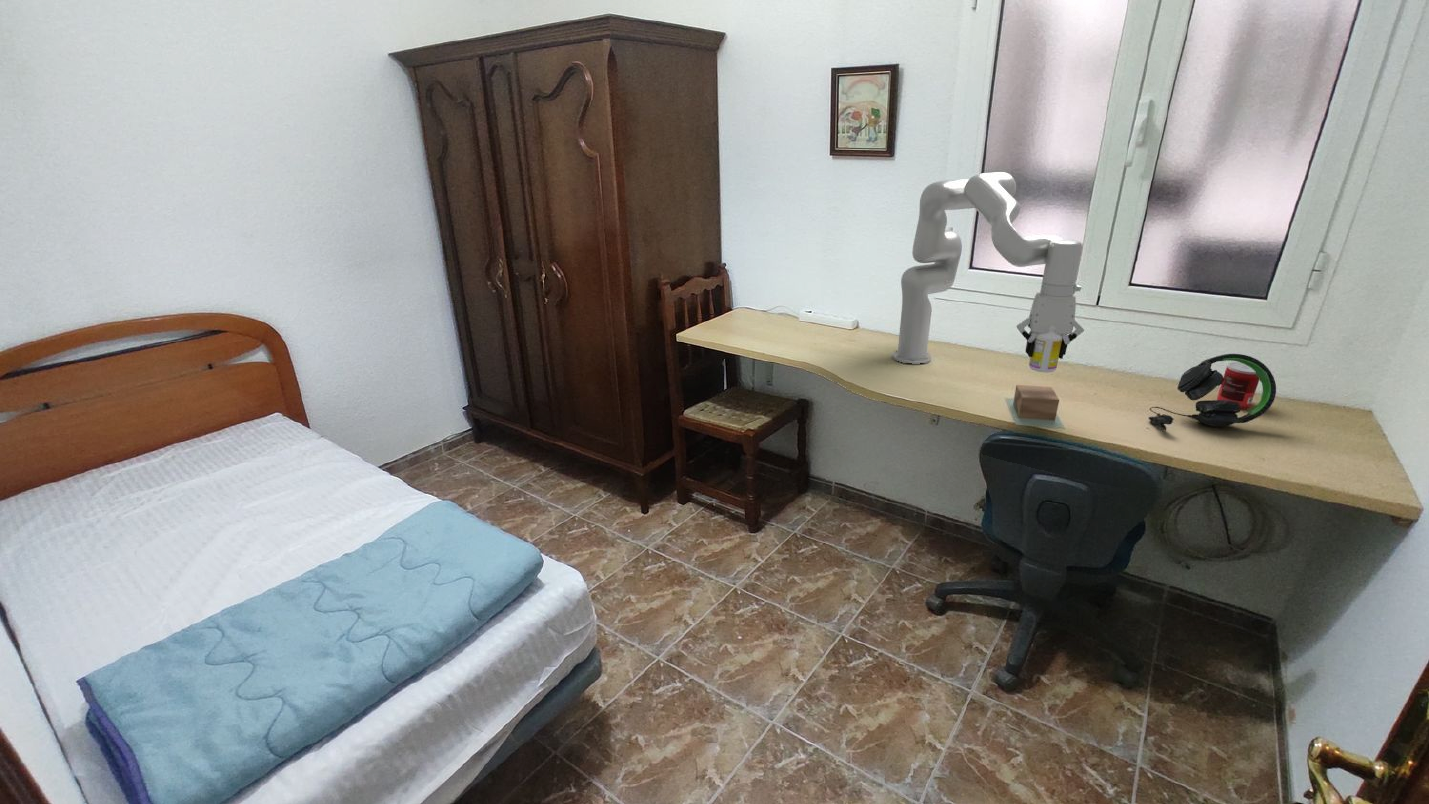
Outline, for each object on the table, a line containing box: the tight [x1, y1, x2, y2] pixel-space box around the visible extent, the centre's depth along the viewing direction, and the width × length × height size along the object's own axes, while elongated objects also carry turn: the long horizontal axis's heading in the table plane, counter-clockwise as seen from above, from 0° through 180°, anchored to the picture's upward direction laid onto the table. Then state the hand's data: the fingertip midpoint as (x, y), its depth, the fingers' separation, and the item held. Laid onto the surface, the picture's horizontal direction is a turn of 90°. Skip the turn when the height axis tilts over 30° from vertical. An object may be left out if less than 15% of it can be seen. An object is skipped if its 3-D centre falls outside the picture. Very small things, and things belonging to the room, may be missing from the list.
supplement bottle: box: [1028, 326, 1062, 373], centre depth 168 cm, size 7×7×13 cm
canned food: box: [1216, 361, 1260, 410], centre depth 177 cm, size 8×8×11 cm
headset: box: [1148, 353, 1277, 431], centre depth 164 cm, size 18×14×29 cm
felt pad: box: [1004, 397, 1066, 429], centre depth 176 cm, size 18×12×1 cm, turn 166°
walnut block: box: [1013, 384, 1060, 421], centre depth 175 cm, size 9×9×6 cm
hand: (1044, 355), depth 169 cm, fingers closed on supplement bottle, 6 cm apart
